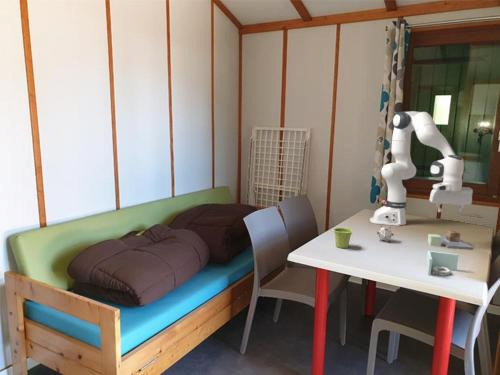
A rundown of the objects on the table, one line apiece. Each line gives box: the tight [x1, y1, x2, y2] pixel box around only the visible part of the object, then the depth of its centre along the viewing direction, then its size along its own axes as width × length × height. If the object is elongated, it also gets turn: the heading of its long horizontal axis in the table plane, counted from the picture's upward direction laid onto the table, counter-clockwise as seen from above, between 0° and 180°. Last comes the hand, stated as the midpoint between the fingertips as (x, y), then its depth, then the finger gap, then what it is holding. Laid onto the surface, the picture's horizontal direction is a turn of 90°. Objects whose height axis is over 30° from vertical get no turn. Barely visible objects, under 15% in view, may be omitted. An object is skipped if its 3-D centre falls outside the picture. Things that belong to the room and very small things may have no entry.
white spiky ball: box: [376, 225, 395, 243], centre depth 206 cm, size 9×8×10 cm
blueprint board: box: [438, 234, 473, 251], centre depth 206 cm, size 12×20×1 cm, turn 172°
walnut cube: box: [445, 229, 461, 242], centre depth 205 cm, size 5×5×5 cm
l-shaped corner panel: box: [425, 250, 459, 277], centre depth 162 cm, size 12×12×8 cm
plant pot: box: [333, 227, 353, 249], centre depth 195 cm, size 9×9×9 cm
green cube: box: [427, 233, 442, 247], centre depth 202 cm, size 5×5×5 cm
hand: (449, 212), depth 202 cm, fingers open, 8 cm apart
